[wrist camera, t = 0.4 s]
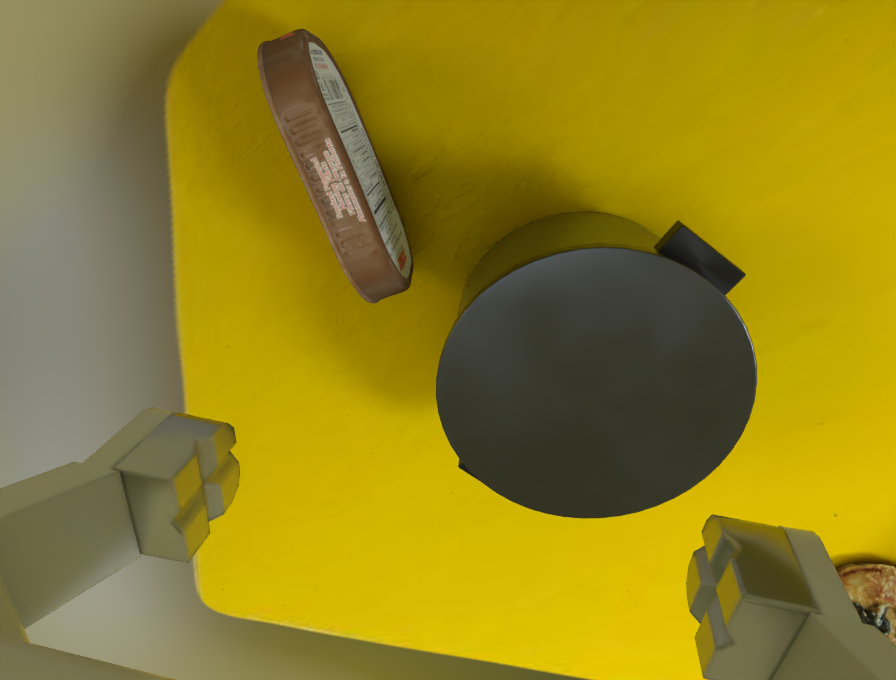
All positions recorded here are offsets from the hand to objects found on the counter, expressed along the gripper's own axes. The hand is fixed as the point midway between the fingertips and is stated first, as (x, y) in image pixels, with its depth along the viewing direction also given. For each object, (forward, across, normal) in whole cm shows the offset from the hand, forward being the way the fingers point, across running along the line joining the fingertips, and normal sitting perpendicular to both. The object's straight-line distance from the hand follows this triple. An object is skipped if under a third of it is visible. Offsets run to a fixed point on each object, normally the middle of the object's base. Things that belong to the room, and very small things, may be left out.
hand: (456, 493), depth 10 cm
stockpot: (+29, -4, +11) cm, 32 cm away
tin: (+29, +11, +1) cm, 31 cm away
